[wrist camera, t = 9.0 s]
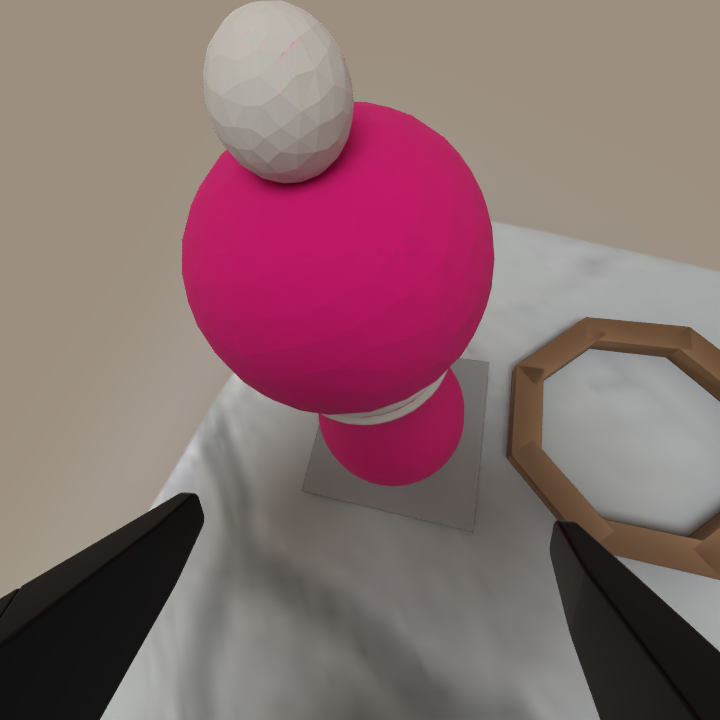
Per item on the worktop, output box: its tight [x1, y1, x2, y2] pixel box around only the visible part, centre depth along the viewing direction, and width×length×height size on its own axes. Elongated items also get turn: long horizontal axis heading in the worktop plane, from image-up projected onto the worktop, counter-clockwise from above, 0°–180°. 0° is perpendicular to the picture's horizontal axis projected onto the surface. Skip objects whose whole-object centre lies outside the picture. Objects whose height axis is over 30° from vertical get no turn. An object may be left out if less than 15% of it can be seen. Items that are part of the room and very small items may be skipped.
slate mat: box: [302, 358, 489, 532], centre depth 22 cm, size 10×10×1 cm
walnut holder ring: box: [507, 317, 720, 580], centre depth 19 cm, size 13×13×1 cm
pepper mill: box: [182, 1, 494, 486], centre depth 13 cm, size 7×7×20 cm
